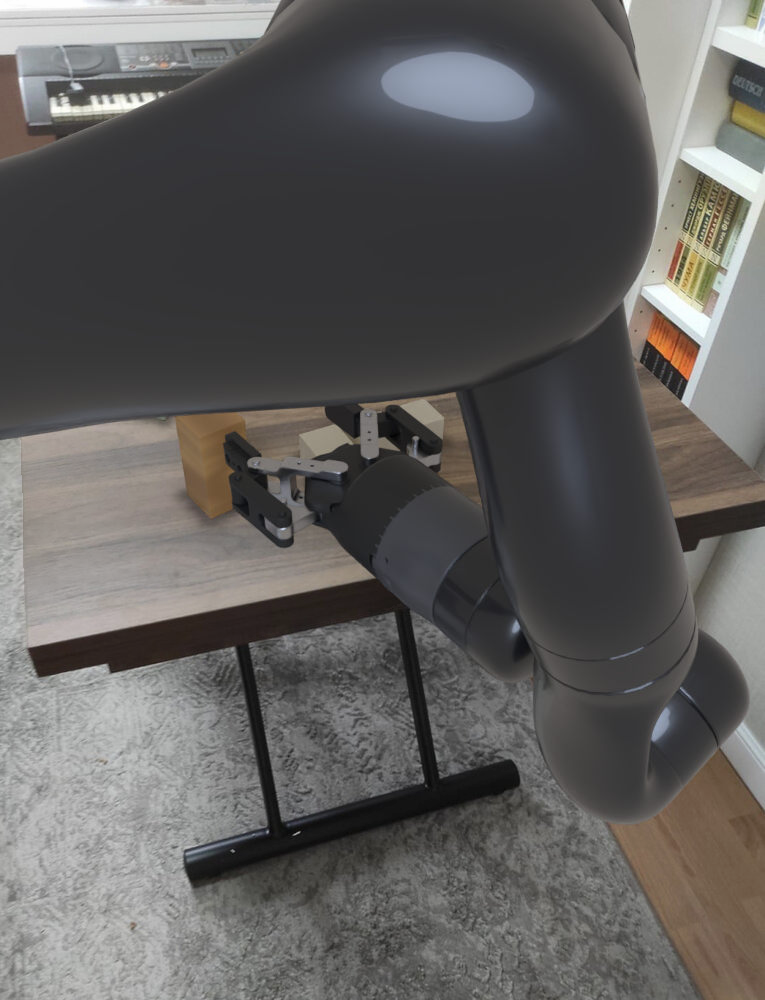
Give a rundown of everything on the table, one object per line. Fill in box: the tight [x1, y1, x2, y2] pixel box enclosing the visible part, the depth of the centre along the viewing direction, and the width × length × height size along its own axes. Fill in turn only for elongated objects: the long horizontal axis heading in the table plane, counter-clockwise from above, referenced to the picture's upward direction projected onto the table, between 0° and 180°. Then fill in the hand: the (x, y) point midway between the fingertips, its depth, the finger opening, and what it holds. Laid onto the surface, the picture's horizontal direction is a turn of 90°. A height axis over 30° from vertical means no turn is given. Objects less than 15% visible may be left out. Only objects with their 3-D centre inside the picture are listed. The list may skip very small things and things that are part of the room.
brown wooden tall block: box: [174, 412, 248, 520], centre depth 74 cm, size 4×4×9 cm
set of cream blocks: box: [298, 398, 445, 460], centre depth 82 cm, size 14×4×3 cm, turn 119°
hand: (280, 422), depth 61 cm, fingers open, 8 cm apart
